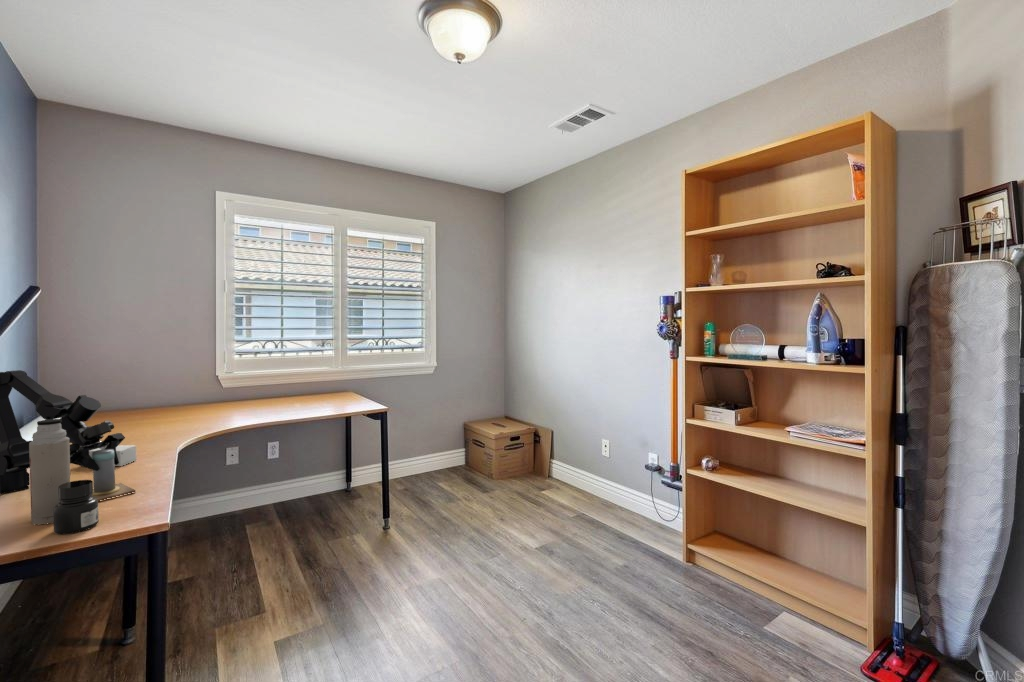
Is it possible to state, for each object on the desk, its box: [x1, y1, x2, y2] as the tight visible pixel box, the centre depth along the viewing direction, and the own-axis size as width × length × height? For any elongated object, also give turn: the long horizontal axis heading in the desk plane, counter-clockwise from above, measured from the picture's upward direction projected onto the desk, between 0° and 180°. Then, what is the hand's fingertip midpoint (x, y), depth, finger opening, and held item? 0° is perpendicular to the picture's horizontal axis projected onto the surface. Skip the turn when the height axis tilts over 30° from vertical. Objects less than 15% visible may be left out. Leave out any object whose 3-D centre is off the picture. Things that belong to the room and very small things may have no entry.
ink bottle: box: [53, 479, 100, 535], centre depth 126 cm, size 10×9×12 cm
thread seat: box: [92, 482, 136, 501], centre depth 150 cm, size 12×12×2 cm
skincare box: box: [89, 444, 138, 467], centre depth 182 cm, size 8×7×16 cm
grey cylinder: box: [92, 449, 116, 493], centre depth 150 cm, size 5×5×12 cm
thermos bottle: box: [29, 418, 71, 525], centre depth 131 cm, size 8×8×28 cm
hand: (108, 466), depth 149 cm, fingers open, 6 cm apart
